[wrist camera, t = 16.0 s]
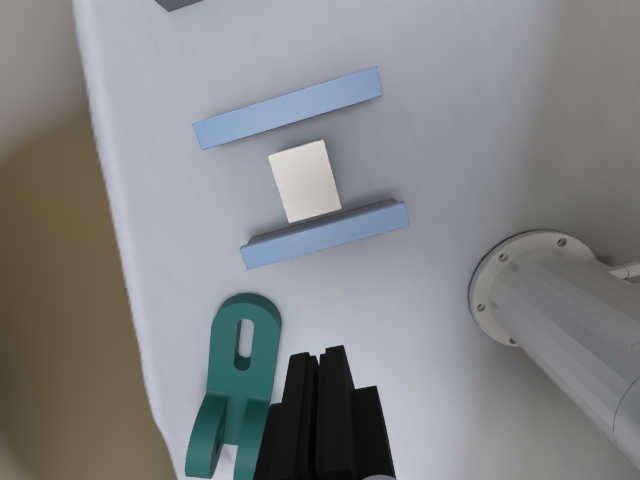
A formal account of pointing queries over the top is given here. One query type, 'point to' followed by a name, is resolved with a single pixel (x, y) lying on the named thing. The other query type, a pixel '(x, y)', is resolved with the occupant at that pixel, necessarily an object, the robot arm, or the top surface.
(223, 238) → the top surface
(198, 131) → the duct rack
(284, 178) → the off-white rectangular prism
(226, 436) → the bracket
